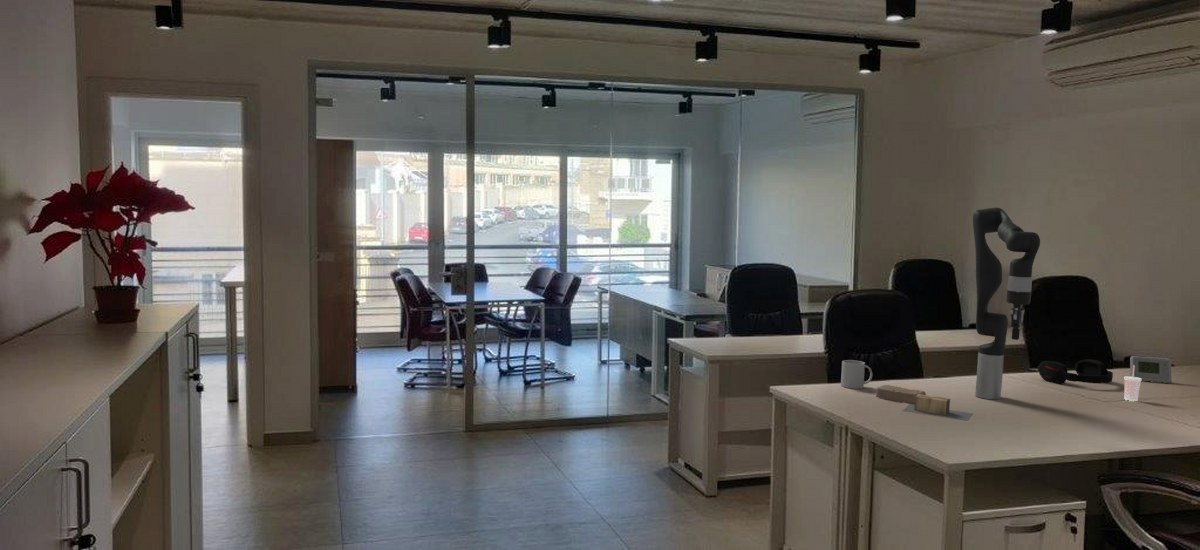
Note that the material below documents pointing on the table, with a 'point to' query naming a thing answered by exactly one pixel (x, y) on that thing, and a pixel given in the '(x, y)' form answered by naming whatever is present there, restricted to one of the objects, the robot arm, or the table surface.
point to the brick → (898, 393)
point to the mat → (951, 414)
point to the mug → (854, 374)
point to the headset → (1085, 369)
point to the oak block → (932, 404)
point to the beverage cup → (1132, 387)
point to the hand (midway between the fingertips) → (1015, 339)
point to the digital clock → (1151, 368)
